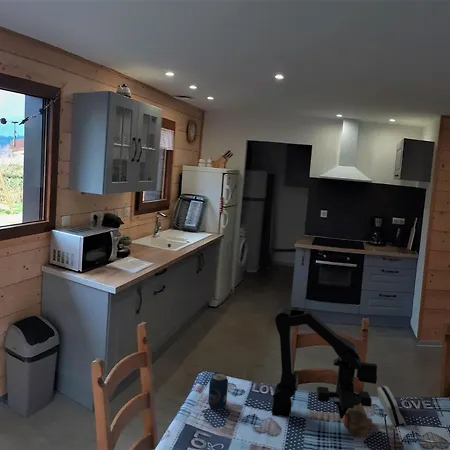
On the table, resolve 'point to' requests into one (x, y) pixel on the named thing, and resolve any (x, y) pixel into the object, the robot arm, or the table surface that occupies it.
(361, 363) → the robot arm
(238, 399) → the table surface
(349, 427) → the block
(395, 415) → the white curved piece
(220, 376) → the soda can
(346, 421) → the pin
